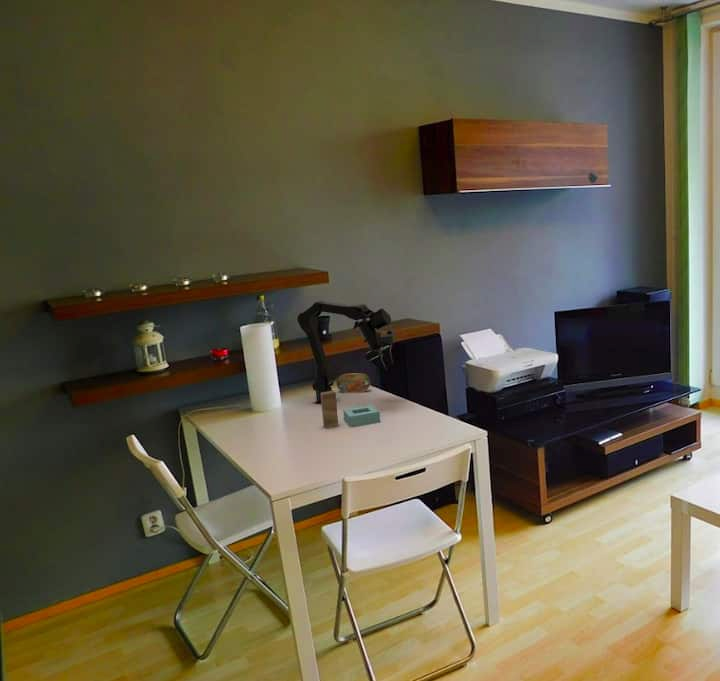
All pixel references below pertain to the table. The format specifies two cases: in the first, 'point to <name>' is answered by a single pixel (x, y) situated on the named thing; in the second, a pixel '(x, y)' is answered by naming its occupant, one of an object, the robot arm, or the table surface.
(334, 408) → the slat
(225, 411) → the table surface
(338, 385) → the tin
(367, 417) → the rectangular frame
